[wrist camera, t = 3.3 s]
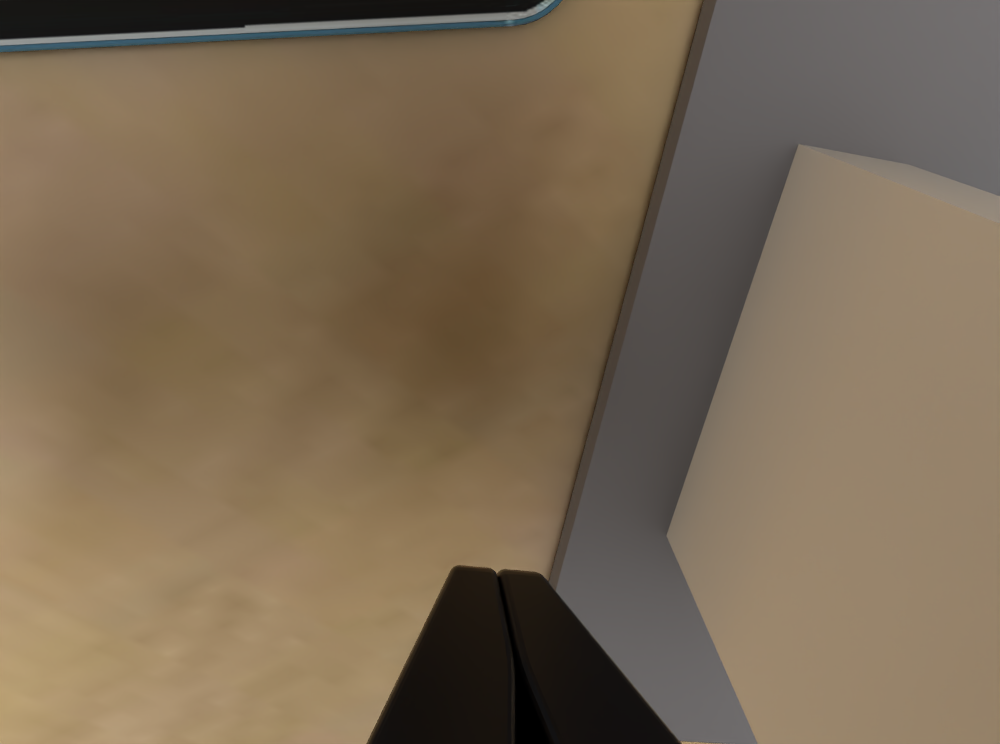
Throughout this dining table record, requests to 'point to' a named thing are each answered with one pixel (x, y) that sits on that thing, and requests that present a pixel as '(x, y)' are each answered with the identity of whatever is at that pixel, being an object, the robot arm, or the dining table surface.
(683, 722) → the mat
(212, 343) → the dining table surface
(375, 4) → the smartphone
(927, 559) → the tile
